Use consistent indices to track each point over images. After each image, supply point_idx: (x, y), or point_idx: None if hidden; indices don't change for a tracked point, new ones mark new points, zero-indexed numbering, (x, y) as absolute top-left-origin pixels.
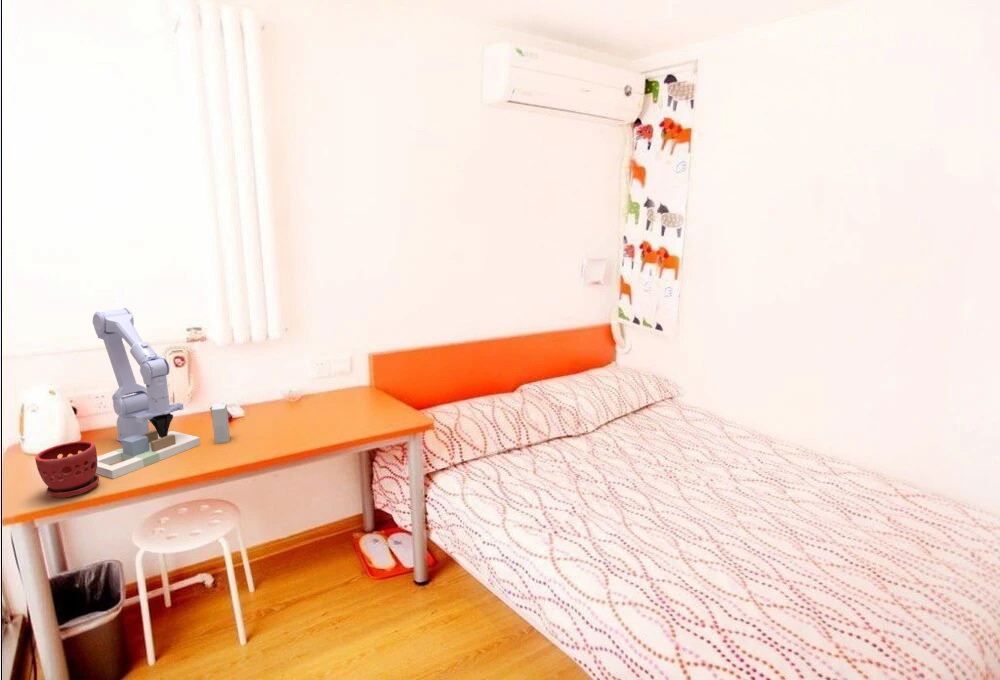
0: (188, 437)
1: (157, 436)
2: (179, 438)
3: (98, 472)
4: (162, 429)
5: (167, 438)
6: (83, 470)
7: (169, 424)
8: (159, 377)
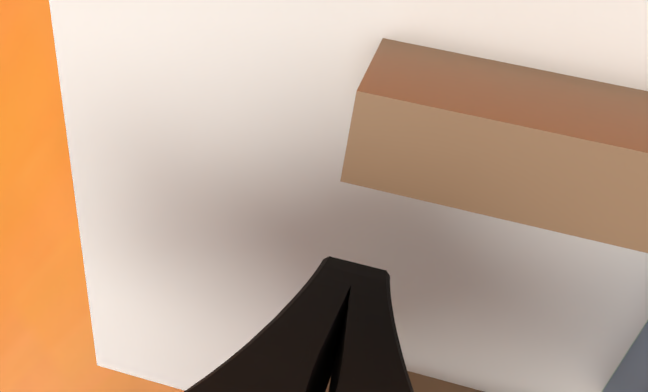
0: (123, 47)
1: None
2: (204, 143)
3: None
4: (397, 378)
5: (527, 122)
6: None
7: (218, 376)
8: None
